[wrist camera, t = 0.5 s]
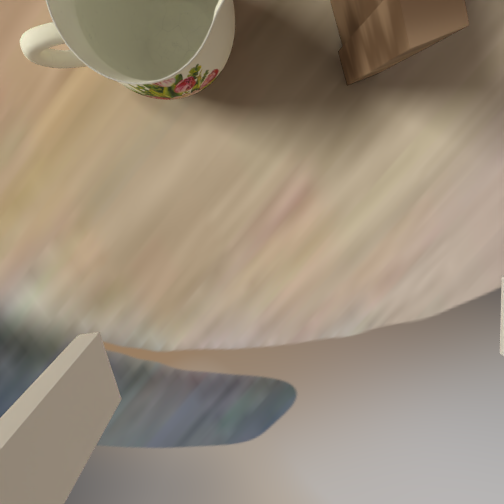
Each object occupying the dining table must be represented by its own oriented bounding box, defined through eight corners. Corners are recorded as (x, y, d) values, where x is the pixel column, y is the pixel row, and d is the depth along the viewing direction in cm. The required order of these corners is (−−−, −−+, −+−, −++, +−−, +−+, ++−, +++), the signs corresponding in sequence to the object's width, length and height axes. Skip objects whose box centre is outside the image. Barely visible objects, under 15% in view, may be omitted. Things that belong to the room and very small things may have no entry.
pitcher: (56, 8, 34) (-77, -71, 21) (249, -59, 32) (237, -195, 19) (102, 131, 37) (12, 131, 24) (281, 78, 35) (289, 45, 22)
